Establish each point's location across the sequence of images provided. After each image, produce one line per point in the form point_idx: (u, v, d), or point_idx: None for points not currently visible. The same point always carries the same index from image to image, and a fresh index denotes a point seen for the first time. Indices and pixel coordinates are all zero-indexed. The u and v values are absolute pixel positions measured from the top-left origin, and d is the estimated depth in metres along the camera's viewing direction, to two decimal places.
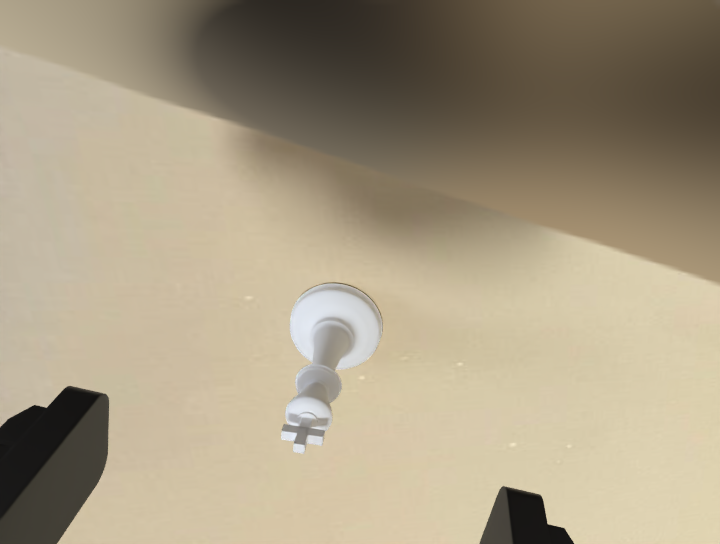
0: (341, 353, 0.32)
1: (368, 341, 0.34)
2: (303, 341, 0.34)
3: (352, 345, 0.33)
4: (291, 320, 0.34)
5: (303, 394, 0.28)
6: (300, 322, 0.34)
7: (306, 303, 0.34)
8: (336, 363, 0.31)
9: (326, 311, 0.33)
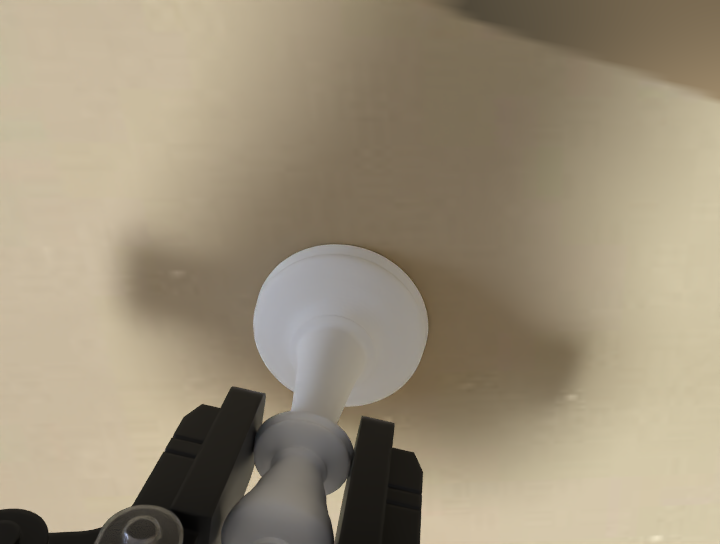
0: (352, 381, 0.16)
1: (403, 355, 0.18)
2: (278, 355, 0.18)
3: (372, 364, 0.17)
4: (255, 315, 0.18)
5: (263, 493, 0.11)
6: (272, 319, 0.18)
7: (283, 282, 0.17)
8: (342, 404, 0.15)
9: (323, 298, 0.17)
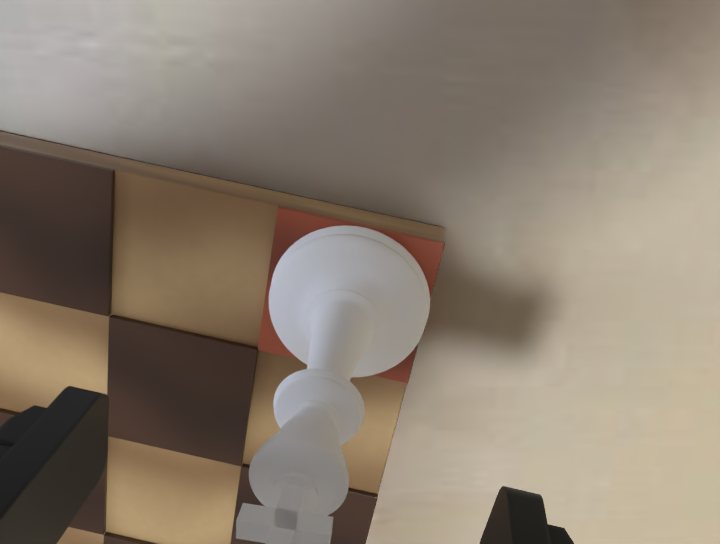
0: (361, 348, 0.17)
1: (407, 327, 0.19)
2: (292, 328, 0.20)
3: (379, 335, 0.19)
4: (271, 291, 0.20)
5: (286, 434, 0.13)
6: (286, 294, 0.19)
7: (297, 260, 0.19)
8: (352, 367, 0.17)
9: (333, 274, 0.19)
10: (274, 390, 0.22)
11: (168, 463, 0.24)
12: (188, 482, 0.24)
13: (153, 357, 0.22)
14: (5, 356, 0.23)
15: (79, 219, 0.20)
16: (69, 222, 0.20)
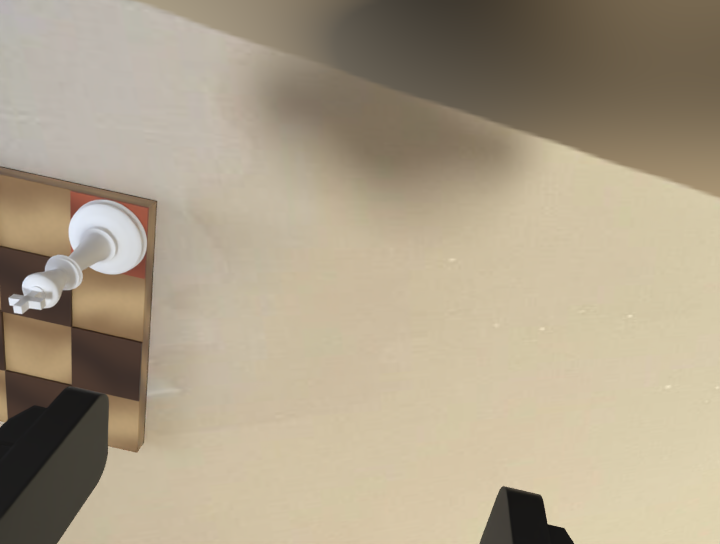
0: (98, 253, 0.39)
1: (131, 247, 0.41)
2: None
3: (114, 250, 0.40)
4: None
5: (34, 273, 0.34)
6: (74, 232, 0.41)
7: (77, 215, 0.40)
8: (88, 259, 0.38)
9: (93, 222, 0.40)
10: (82, 284, 0.44)
11: (35, 327, 0.46)
12: (46, 338, 0.46)
13: (20, 267, 0.43)
14: None
15: None
16: None
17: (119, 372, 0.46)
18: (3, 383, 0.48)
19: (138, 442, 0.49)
